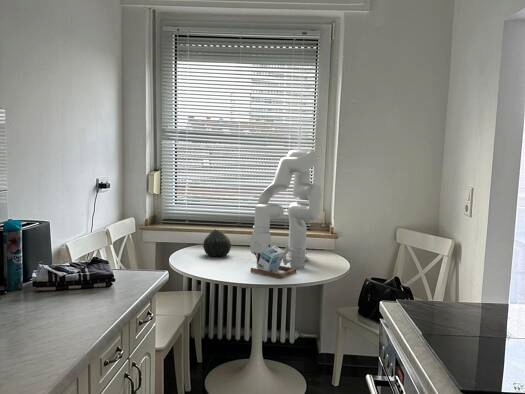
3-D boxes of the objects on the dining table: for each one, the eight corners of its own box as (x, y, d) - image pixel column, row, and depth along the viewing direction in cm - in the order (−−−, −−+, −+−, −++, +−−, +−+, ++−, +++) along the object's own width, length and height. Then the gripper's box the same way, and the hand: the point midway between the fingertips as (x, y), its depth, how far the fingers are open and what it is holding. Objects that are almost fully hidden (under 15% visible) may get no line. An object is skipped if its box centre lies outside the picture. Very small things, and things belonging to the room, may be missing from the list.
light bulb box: (266, 275, 214) (273, 255, 211) (255, 267, 217) (262, 248, 214) (278, 270, 223) (285, 251, 220) (268, 263, 226) (275, 245, 223)
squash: (225, 250, 239) (229, 226, 248) (198, 249, 242) (203, 226, 251) (230, 263, 250) (234, 240, 259) (204, 262, 253) (209, 239, 262)
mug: (306, 269, 227) (307, 246, 225) (282, 269, 226) (283, 245, 225) (303, 266, 234) (304, 243, 233) (281, 265, 233) (282, 242, 232)
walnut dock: (267, 266, 230) (267, 262, 229) (296, 272, 220) (296, 268, 220) (250, 272, 218) (250, 268, 218) (280, 278, 208) (281, 274, 208)
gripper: (245, 228, 222) (243, 265, 224) (270, 232, 214) (268, 270, 215) (254, 227, 228) (252, 262, 230) (278, 230, 220) (276, 267, 221)
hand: (260, 266), depth 223 cm, fingers closed
